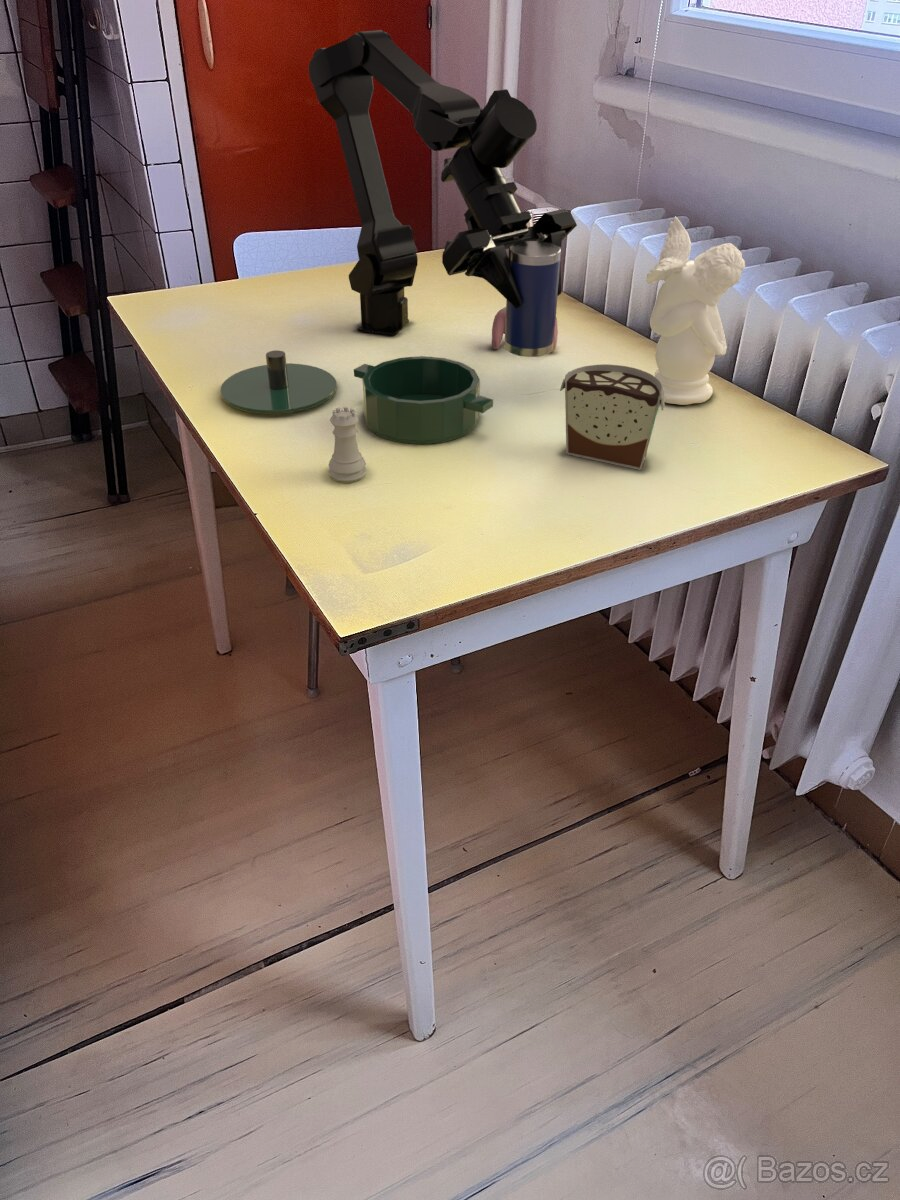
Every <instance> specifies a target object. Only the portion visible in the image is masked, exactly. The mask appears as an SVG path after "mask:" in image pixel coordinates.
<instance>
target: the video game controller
mask: <svg viewBox="0 0 900 1200" xmlns="http://www.w3.org/2000/svg"><path fill="white" fill-rule="evenodd" d="M505 322H506V306H503V307H502V308H501V309H500V310H498V311H497V313H496V314H495V315H494V318H493V321H492V327H491V345H492V348H493V349H494V350H495V351H496V350H498V349H499V348H500V346H501V345H502V342H503V339H504V338H503V337H504V335H505ZM558 331H559V329H558V319H557V317H556V321H555V334H554V343H553V350H552V352H554V351H555V349H556V347H557V343H558ZM552 352H551V353H552Z"/></svg>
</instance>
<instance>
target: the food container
mask: <svg viewBox="0 0 900 1200" xmlns="http://www.w3.org/2000/svg"><path fill="white" fill-rule="evenodd" d="M563 390H564V407H565V408H564V409H565V410H564V411H565V454H566V455H568V456H574V457H577V458H583V459H587V460H592V461H597V462H601V463H606V464H610V465H616V466H618V467H619V466H620V467H625V468H629V469H634V470H637V471H638V470H639V471H642V469H643V467H644V464H645V461H646V456H647V452H648V449H649V445H650V441H651V437H652V434H653V429H654V426H655V423H656V418H657V414H658V411H659V408H660V407H661V411H664V410H665V408H666V407H665V405H666V402H665V400H664V391H663V388H662V384H661V382H660V381H659V380H658V379H657V378H656V377H655V375H653V374H652V373H649V372H647V371H645V370H643V369H639V368H636V367H632V366H627V365H622V364H621V365H619V364H610V363H609V364H605V363H603V364H590V365H585V366H584V365H583V366H581V367H577V368H574V369H572V370H571V371H568V372H567V373H566V374H565V376H564V378H563V379H562V381H561V385H560V388H559V392H563ZM660 403H661V406H660ZM659 406H660V407H659Z"/></svg>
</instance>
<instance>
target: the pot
mask: <svg viewBox="0 0 900 1200" xmlns="http://www.w3.org/2000/svg"><path fill="white" fill-rule="evenodd" d="M353 377H355V378H358V379H361V380H362V396H363V397H362V398H363V412H364V413H363V414H364V419H365V424H366V426H367V427H368V429H369V430H370V431H371V432H372V433H373V434H375V435H376V436H378V437H380V438H382V439H386V440H389V441H392V442H397V443H401V444H409V445H433V444H441V443H446V442H451V441H453V440H457V439H459V438H462V437H464V436H466V435H467V434H469V433H471V432H472V431H473V430H474V429H475V427H476V426H477V424H478V421H479V416H480V414H484V413H485V412H487V411H488V410H490V409H492V408H493V407H494V398H490V397H486V396H482V395H480V393H481V392H480V389H481V379H480V377H479V375H478V373H477V372H476V370H475V369H474V368H473V367H470V366H469V365H467V364H466V363H464V362H461V361H457V360H453V359H450V358H445V357H435V356H426V355H425V356H424V355H423V356H422V355H420V356H406V357H398V358H395V359H391V360H386V361H381V362H380V363H378V364H377V365H371V364H367V363H363V364H361V365H359V366H357V367H356V368H354V369H353Z"/></svg>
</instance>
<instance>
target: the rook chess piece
mask: <svg viewBox="0 0 900 1200" xmlns="http://www.w3.org/2000/svg"><path fill="white" fill-rule="evenodd" d="M331 413H332V415H331V416H330V418H329V422H330V424H331V425H332V426H333V430H332V434H333V436H334V447H333V453H332V455H331V457H330V459H329V461H328V468H329V469H328V475H329V476H330V477H331V478H332V480H334V481H336V482H338V483H341V484H342V483H343V484H351V483H356V482H359V481H361V480H362V479H363V478H364V477H365V475H366V474H367V471H368V470H367V467H366V465H367V463H366V459H365V457H364V456H363V455H362V453H361V452H360V450H359V447H358V441H357V434H358V429H357V427H356V425H357V424H358V422H359V420H360V419H359V418H360V417H359V416H358V415H357V414H356V411H355V409H354V408H353V407H351V408H349V406H343V410H341V407H340V406H339V407H336V408H335V409H334V410H332V412H331Z"/></svg>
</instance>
